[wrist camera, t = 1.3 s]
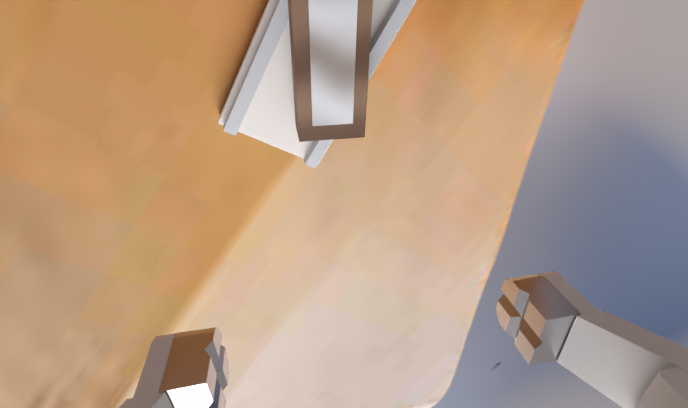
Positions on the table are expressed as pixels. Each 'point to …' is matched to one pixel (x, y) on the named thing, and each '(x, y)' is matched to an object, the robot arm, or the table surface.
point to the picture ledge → (290, 78)
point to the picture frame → (330, 67)
